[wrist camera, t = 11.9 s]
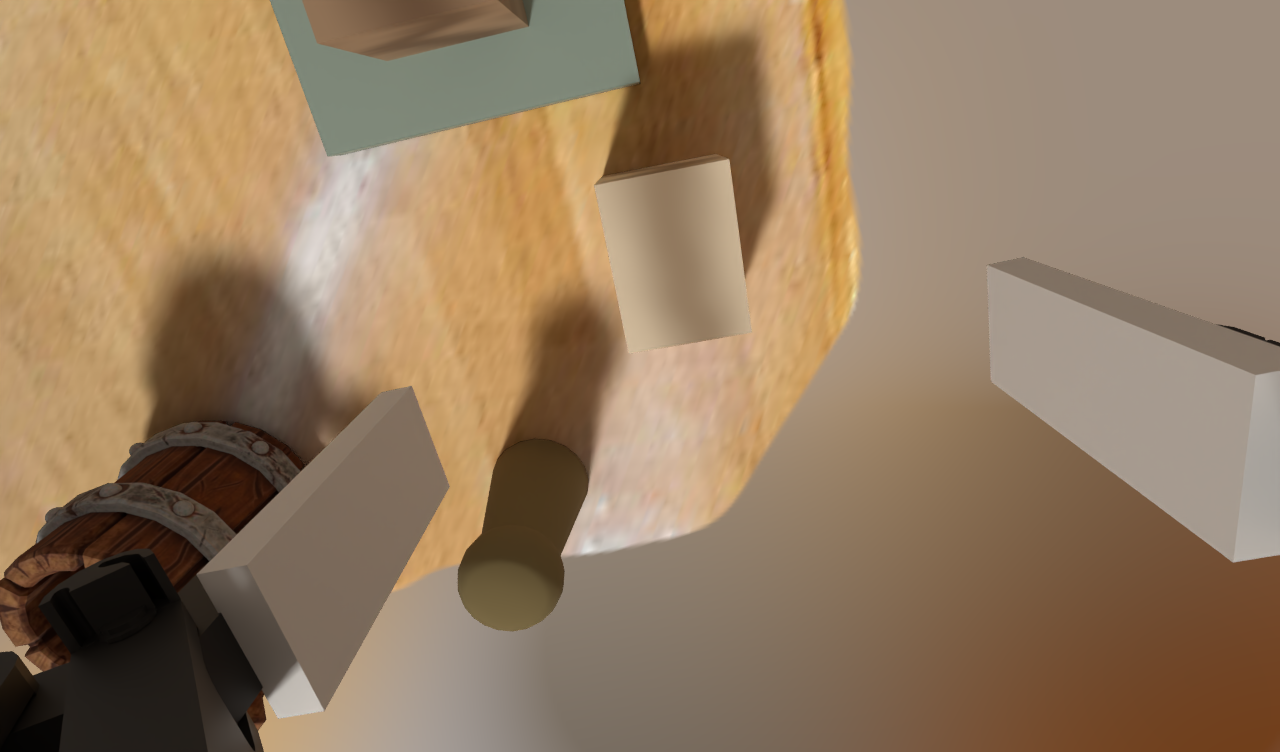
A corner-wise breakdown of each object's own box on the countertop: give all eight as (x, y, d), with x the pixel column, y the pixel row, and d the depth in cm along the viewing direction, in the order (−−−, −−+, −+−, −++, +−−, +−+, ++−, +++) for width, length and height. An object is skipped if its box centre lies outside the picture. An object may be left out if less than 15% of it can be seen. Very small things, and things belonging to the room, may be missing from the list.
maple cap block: (631, 319, 37) (628, 353, 31) (602, 175, 34) (594, 185, 29) (735, 300, 37) (751, 332, 31) (715, 153, 34) (729, 159, 28)
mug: (173, 363, 38) (-28, 536, 25) (397, 474, 43) (330, 665, 30) (97, 499, 41) (-115, 714, 28) (313, 586, 47) (220, 802, 33)
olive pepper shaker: (565, 425, 39) (536, 531, 29) (603, 505, 41) (588, 631, 31) (475, 457, 40) (416, 570, 30) (517, 534, 42) (475, 665, 32)
